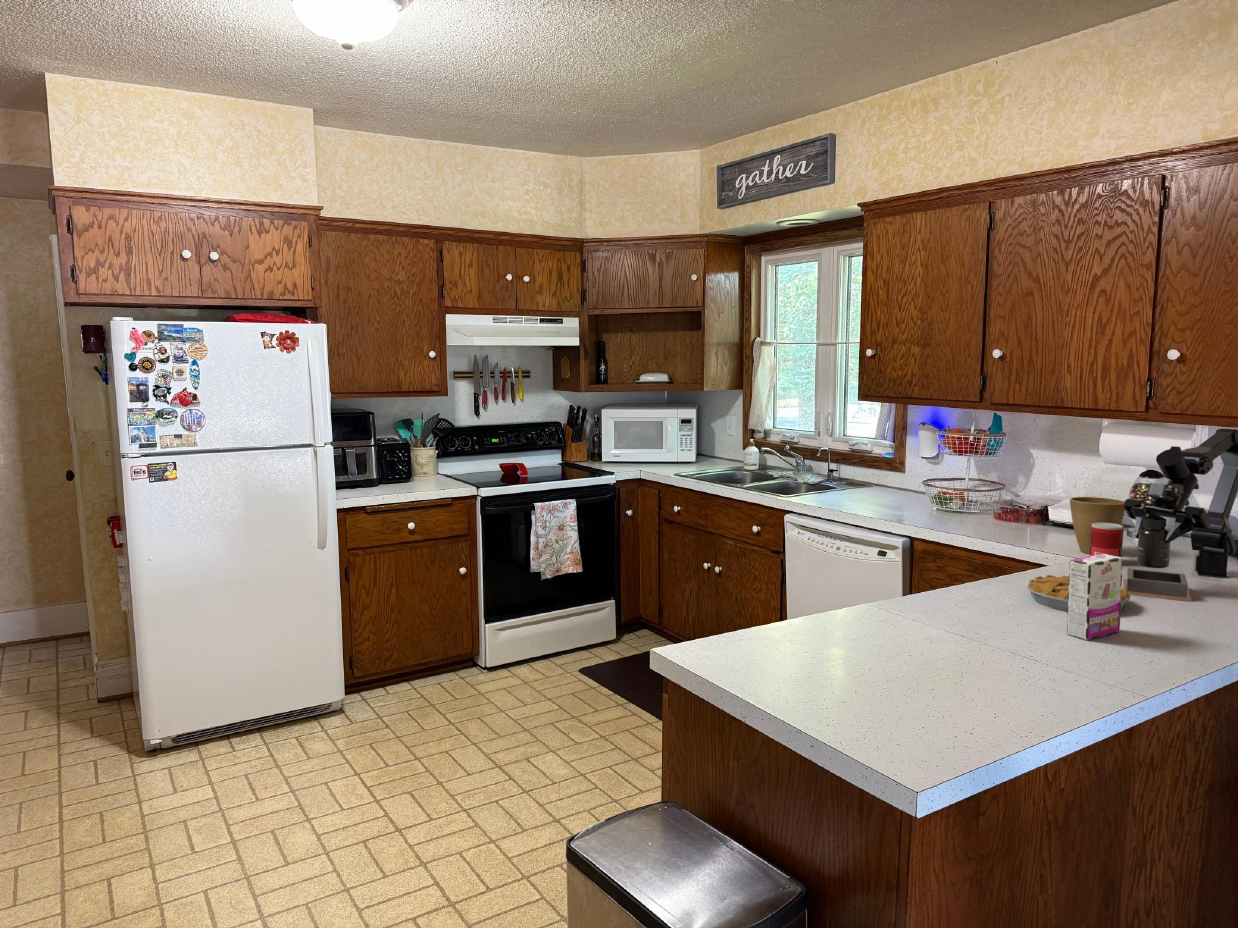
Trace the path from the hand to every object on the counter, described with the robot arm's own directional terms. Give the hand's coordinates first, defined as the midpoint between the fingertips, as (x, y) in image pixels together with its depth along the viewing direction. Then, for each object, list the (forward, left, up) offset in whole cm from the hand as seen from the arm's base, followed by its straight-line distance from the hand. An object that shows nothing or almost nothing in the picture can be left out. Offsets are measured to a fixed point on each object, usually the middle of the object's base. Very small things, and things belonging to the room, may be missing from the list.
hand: (1151, 539), depth 211 cm
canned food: (+10, -30, -13) cm, 34 cm away
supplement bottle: (-1, -1, -7) cm, 7 cm away
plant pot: (+13, -44, -13) cm, 48 cm away
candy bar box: (+11, +45, -13) cm, 48 cm away
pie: (+15, +20, -14) cm, 28 cm away
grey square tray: (-2, -1, -13) cm, 13 cm away
